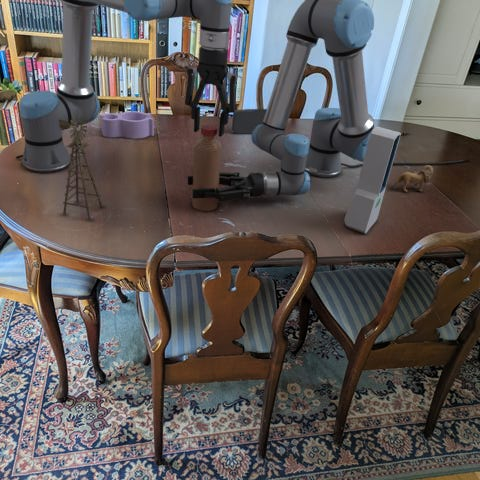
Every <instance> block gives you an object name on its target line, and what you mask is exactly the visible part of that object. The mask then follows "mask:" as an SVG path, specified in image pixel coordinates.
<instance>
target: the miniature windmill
mask: <svg viewBox="0 0 480 480" xmlns="http://www.w3.org/2000/svg"><path fill="white" fill-rule="evenodd" d="M82 111H83V110H82ZM74 114H75V111H74ZM84 114H85V112H84ZM84 114H83V116H84ZM81 115H82V112H81ZM83 116H82V119H83ZM72 118H73V120H74V121H75V123H76V124H75V123H74V122H73V121H72V120H70V122H71V123H72V125H71V124H70V123H69V122H66V121H63V120H60V119H59V124H60V128H68V129H70V130H69V134H70V138H71V143H69V144H68V145H65V147H66V148H71V153H69V155H70V159H71V160H70V165H69V166H68V169H67V173H68V174H67V178H66V180H67V181H66V186H65V188H66V189H65V193H64V196H65V197H64V201H63V202H62V205H63V211H62V215H64V216H65V215H66V214H67V206H68V205H69V206H73V207H79V208H86V214H87V219H88V220H91V219H92V218H91V213H90V208H91V207H92V206H93V205H94V204H95V203H96V202H97V201H98V203H99V207H100V208H103V206H104V205H103V203H102V200H101V194H99V191H98V187H97V184H96V183H95V182H96V180H95V179H94V176H93V173H92V171H91V170H92V169H91V166H90V164H89V161H88V158H87V156H86V155H87V153H86V152H85V150H84V149H85V148H87V147H88V146H89V145H90V143H88V142H83V141H84V138H86V133H87V132H88V130H86V129H87V128H88V125H86V124H85V123H87V121H85V122H83V121H84V120H85V118H86V116H85V118H84V119H83V121H82V119H81V117H80V109H79V118H80V120H81V121H82V122H83V123H82V122H81V121H80V122H78V121H77V118H78V111H77V118H76V114H75V119H76V120H75V119H74V117H73V115H72ZM76 121H77V122H76ZM78 123H81V124H80V125H79V124H78ZM87 124H88V123H87ZM74 154H75V155H74ZM82 158H83V159H84V162H85V164H82ZM74 161H75V165H73V162H74ZM83 168H86V169H83ZM73 169H75V170H73ZM87 171H88V174H89V177H90V178H87V177H84V174H85V173H86V172H87ZM79 174H80V176H81V177H80V176H79ZM74 176H75V178H74V179H73V180H72V181H71V179H72V177H74ZM79 180H81V184H82V187H79ZM85 181H89V182H90V183H89V184H88V185H87V186H86V182H85ZM73 183H75V184H74V185H72V184H73ZM91 186H93V189H94V192H95V193H88V192H87V190H88V188H90V187H91ZM74 189H75V192H73V194H71V195H70V196H69V193H70V192H71V191H72V190H74ZM79 190H83V191H79ZM79 194H83V195H84V202H85V205H81V204H77V203H79V202H80V200H79V199H80V198H79ZM74 196H75V202H76V203H71V202H68V201H69V200H71V199H72V197H74ZM88 196H92V197H96V198H95V199H94V200H93V201H92V202H91V203H90V204H89V201H88Z"/></svg>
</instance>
